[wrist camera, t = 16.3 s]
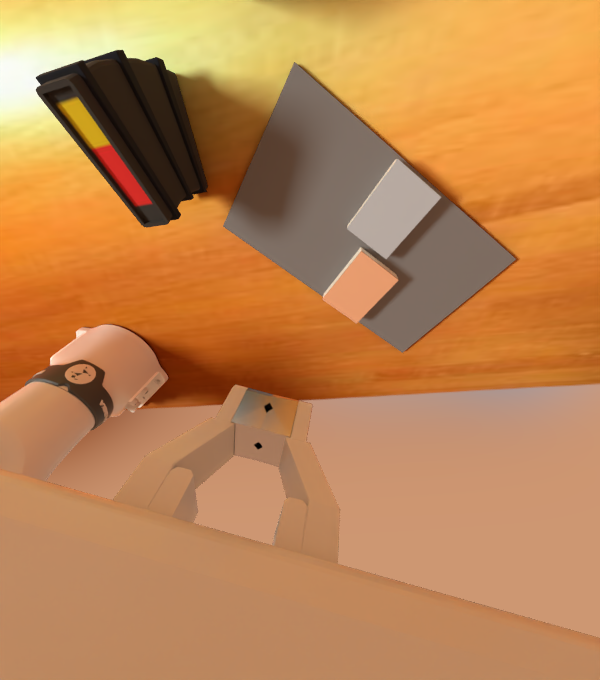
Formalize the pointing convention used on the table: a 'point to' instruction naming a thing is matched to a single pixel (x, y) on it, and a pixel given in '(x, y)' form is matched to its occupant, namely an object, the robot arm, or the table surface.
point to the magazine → (130, 130)
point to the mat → (341, 206)
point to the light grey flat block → (392, 209)
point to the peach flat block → (360, 285)
